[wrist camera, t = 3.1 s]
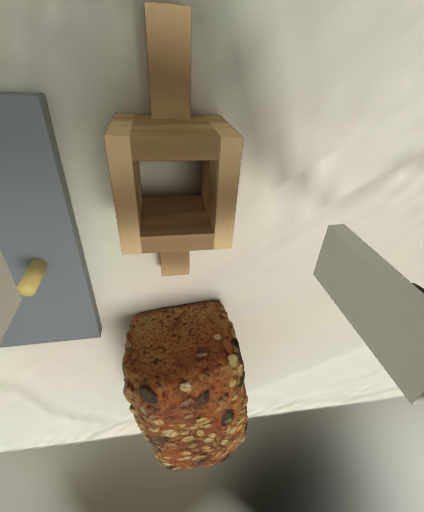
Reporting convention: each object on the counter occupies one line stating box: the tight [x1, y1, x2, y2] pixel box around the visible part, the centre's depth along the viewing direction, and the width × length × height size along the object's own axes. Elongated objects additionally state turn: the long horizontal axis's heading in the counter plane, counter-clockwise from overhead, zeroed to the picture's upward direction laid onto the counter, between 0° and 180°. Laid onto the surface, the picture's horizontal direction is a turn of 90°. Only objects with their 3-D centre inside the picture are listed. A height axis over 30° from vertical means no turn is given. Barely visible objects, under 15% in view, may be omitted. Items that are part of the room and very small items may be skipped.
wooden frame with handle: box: [104, 2, 243, 276], centre depth 19 cm, size 18×7×6 cm, turn 177°
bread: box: [122, 302, 248, 470], centre depth 31 cm, size 19×11×10 cm, turn 4°
